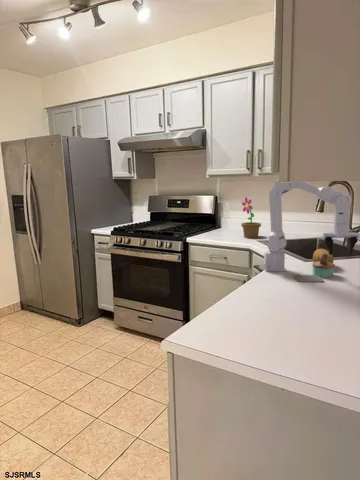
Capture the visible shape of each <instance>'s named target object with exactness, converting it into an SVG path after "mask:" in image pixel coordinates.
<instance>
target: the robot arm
mask: <svg viewBox="0 0 360 480" xmlns="http://www.w3.org/2000/svg"><path fill="white" fill-rule="evenodd" d="M293 189H301V190H303V191H306V192H309V193H311V194H314V195H316V197H317V199H319V200H321V201H323V202H326V203H328V204H330V205H334V207H335V209H334V219H333V220H334V221H333V231H332V232H322V235H321V237H322V239H324V241H325V244H326V247H327V251H328V252H329V255H333V246H334V240H333V239H344V238H346V239H347V251H346V252H347V255H348V256H352V252H353V249H354V248H355V246H356V244H357V243H358V242H359V241H358V240H359V239H360V233H359V232H350V219H351V218H350V216H351V211H350V210H351V204H352V200H353V199H352V197H351V196H350V194H347V192H346V193H344V192H342V191H341V190H338V191H337V190H336V189H333V188H331V186H330V185H327V186H322V187H319V186H317V185H315V184H312V183H310V182H308V181H306V182H291V183H279V179H278V178H277V179H276V180H275V181H274V183H273V185H272V188H271V190H270V192H269V196H268V197H269V198H268V199H269V213H270V214H269V215H270V218H269V219H270V233H269V236H268V241H267V248H268V251H267V250H266V251H264V253H263V254H264V256H263V258H264V259H263V267H264V270H265V271H266V272H287V269H286V268H285V267H286V266H285V259H286V257H285V255H286V249H285V248H286V247H287V245H288V244H287V243H288V242H287V239H286V237H285V233H284V230H283V211H282V209H283V208H282V197H283V196H284V195H285V194H286V193H288V192H290V191H291V190H293Z"/></svg>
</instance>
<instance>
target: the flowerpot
mask: <svg viewBox="0 0 360 480" xmlns="http://www.w3.org/2000/svg"><path fill="white" fill-rule="evenodd" d="M244 197H245V196H244ZM251 203H252V199H249V200H248V198H247V196H246V197H245V199H244V201H242V202H241V205H242V206H243V208H242V211H243V213H244V212H246V213H247V215H249V214H250V217H247V220H249V221H248V222H247V221H246V222H242V223H241V227H242V231H243V237H244V238H246V239H257V238H258V237H259V232H260V227H261V226H262V223H261V222H253V218H254V217H255V213H254V212H252V210H253V206H252V205H251Z"/></svg>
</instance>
